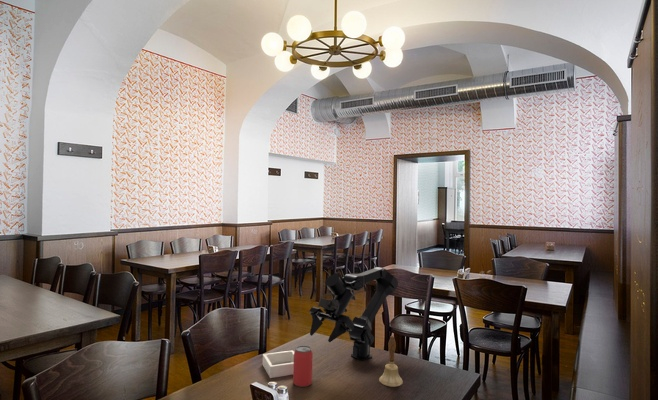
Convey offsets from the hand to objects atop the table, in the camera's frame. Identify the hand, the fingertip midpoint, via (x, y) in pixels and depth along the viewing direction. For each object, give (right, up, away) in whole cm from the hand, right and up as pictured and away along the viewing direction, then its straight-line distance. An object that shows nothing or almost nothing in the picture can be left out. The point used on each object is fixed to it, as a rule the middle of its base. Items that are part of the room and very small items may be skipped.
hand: (319, 338), depth 138 cm
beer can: (-6, -14, -6) cm, 16 cm away
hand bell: (+25, -14, -3) cm, 29 cm away
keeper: (-14, -13, +5) cm, 20 cm away
